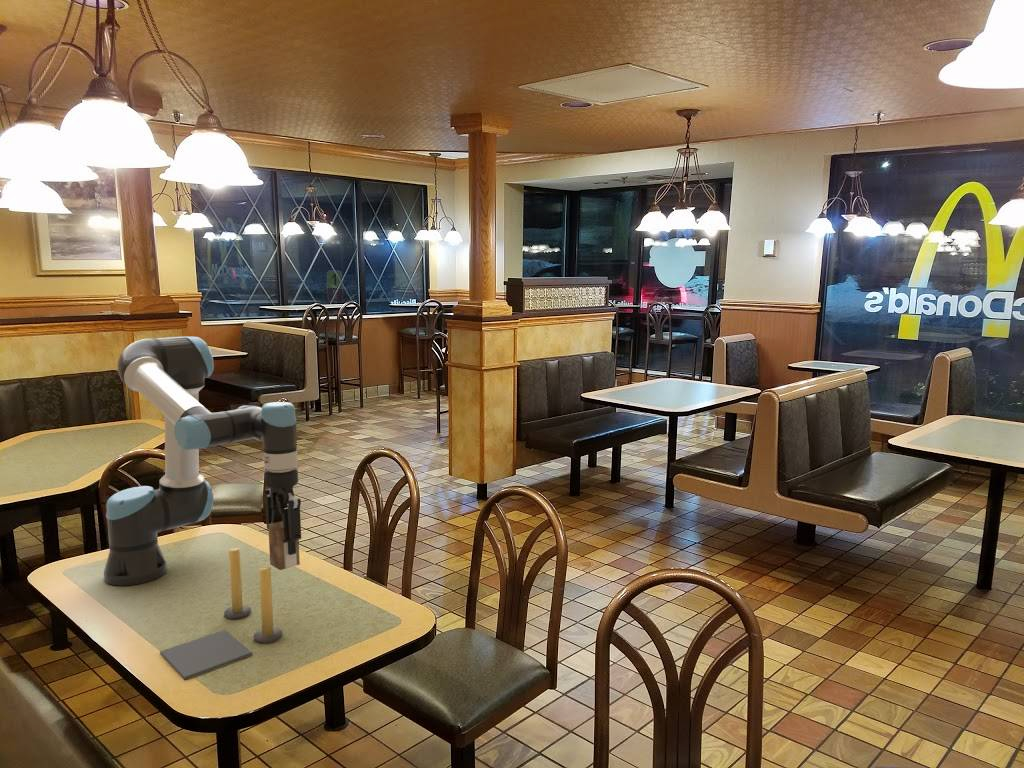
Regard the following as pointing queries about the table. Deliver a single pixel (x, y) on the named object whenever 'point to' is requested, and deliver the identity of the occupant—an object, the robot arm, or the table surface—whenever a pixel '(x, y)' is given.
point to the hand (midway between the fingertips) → (284, 562)
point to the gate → (241, 611)
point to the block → (278, 545)
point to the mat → (205, 654)
